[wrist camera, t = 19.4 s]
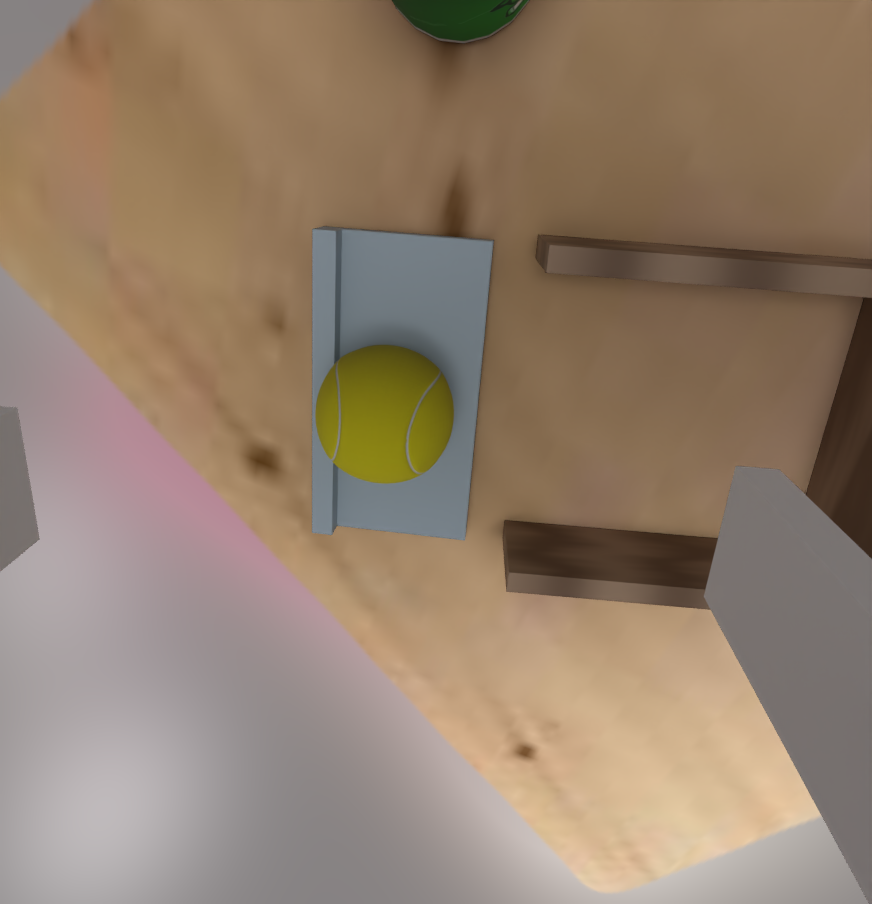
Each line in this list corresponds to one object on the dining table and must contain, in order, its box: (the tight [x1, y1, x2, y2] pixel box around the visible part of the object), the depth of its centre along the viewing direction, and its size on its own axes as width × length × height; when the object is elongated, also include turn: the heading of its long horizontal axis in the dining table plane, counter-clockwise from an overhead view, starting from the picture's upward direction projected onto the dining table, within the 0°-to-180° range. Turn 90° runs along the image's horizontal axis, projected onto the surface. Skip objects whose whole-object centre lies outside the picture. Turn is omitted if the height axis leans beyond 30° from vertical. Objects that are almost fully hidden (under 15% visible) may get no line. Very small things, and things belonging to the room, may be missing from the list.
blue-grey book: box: [312, 226, 494, 540], centre depth 38 cm, size 2×17×9 cm
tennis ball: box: [315, 345, 454, 484], centre depth 35 cm, size 7×7×7 cm
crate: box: [503, 235, 872, 610], centre depth 35 cm, size 19×18×8 cm
